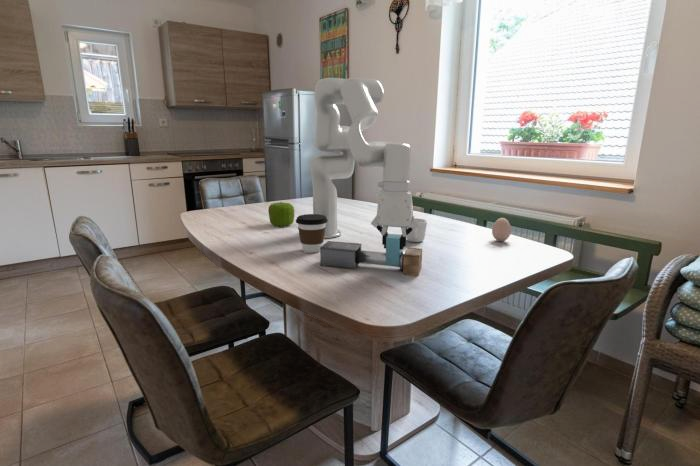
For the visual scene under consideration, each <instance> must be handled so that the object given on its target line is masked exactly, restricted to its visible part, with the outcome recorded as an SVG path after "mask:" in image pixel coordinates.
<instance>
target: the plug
mask: <svg viewBox="0 0 700 466" xmlns="http://www.w3.org/2000/svg"><path fill="white" fill-rule="evenodd" d="M388 234H389V235H388V236H387V237H386V249H385V252H383V251H375V250H374V251H372V250H362V249H361V250H357V251H356V263H360V264H361V265H362V264H364V265H373V266H386V267H394V268H399V270H400V271H403V260H404V253H405V251H406V250H405V251H403V250H401V249H400V238H401V236H402V234H396V233H388Z"/></svg>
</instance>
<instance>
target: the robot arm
mask: <svg viewBox="0 0 700 466" xmlns="http://www.w3.org/2000/svg"><path fill="white" fill-rule="evenodd" d="M384 94H385V92H384V88H383V85H382V83H381V82H380V81H379V80H377V79H375V78H369V77H367V78H365V77H348V78H342V77H341V78H339V77H324V78H322V79H319V80H318V81H317V83H316V84H315V88H314V102H315V107H316V123H315V124H316V126H315V146H316V148H317V150H318V151H320V152H324V153H328V152H329V153H331V154H329V153H328V154H318V155H315V156H313V157H312V158H311V159H310V161H309V172H310V177H311V182H312V203H313V204H312V208H313V209H312V214H320V215H324V216H326V218H327V219H328V222H327V223H326V225H325V226H326V228H325V235H324V239H331V238H332V239H333V238H337V237H340V236H342V231H341V230H340V229H338V190H337V188H336V186H335V184H334V183H333V181H332V180H340V179H341V180H343V179H349V178H350V177H352V176H353V174H354V170H355V166H356V165H355V163H356V164H357V166H359V167H360V168H365V169H370V168H371V169H372V168H383V169H382V170H383V171H382V181H381V182H378V183H377V187H378V188H381V189H382V190H380V191H379V195H378V201H377V209H376V211H377V212H376V216H375V217H374V218H373V220H372V221H371V222H370V225H372V226H373V227H374V228H375V229H377V231H379V232H380V234H381V236H382V237H381V238H382V239H381V241H382V243H381V244H382V246H383V248H384V249H385V250H386V237H387V236H388V235H389V234H390V233H389V232H388V229H389V227H392V228H400V229H401V235H402V236H401V238H400V249H401V250H402V251H403V250H404V248H406V247H407V235H408V234H409V233H410V232H411V231H413V230H415V229H416V228H418V227H419V224H418V223H417V221H416V219H415V218H416V217H415V216H414V211H413V210H414V207H413V205H414V204H413V195H412V192H411V191H410V176H411V175H410V174H411V172H410V170H411V146H410V144H409V143H404V142H394V141H366V140H365V138H364V136H363V134H362V132H363V131H365V130H367V129H368V128H370V127H372V126H373V125H374V124H375V123H376V122H377V121H378V118H379V111H378V109H377V106H378V105H380V104H381V103H382V102H383V99H384ZM337 105H344V106H345V109H346V110H347V113H348V115H349V118H350V120H351V124H350V125H349V126H348V125H340V121H341V114H340V110H339V108H338V106H337ZM333 152H335V153H337V152H338V153H337V154H332V153H333ZM411 223H412V224H413V225H412V226H411V227H409V226H410V225H411ZM407 227H409V228H408V229H407Z"/></svg>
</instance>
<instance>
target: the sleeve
mask: <svg viewBox="0 0 700 466" xmlns="http://www.w3.org/2000/svg"><path fill="white" fill-rule="evenodd" d="M357 250H362V243H357V242H346V241H345V242H343V241H332V240H327V242H325V243H323V245H322V246H321V247H320V252H319V253H320V256H319V257H320V259H319V260H320V262H319V264H320V267H327V268H338V269H348V270H356V269H357V268H358V266H359V265H360V264H361V263H356V251H357Z"/></svg>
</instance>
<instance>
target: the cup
mask: <svg viewBox="0 0 700 466" xmlns="http://www.w3.org/2000/svg"><path fill="white" fill-rule="evenodd" d="M414 218H415V219H416V221H417V223H418V224H419V227H418V228H416V229H415V230H413V231H411V232H410V233H409V234H408V235H407V236H406V241H408V242H411V243H421V242H423V241H424V240H425V237H426V231H427V225H428V220H426V219H425V218H418V217H417V218H416V217H414ZM412 225H413V224H412V223H411V225H410V226H409V227H411V226H412ZM409 227H407V229H408V228H409Z"/></svg>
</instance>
